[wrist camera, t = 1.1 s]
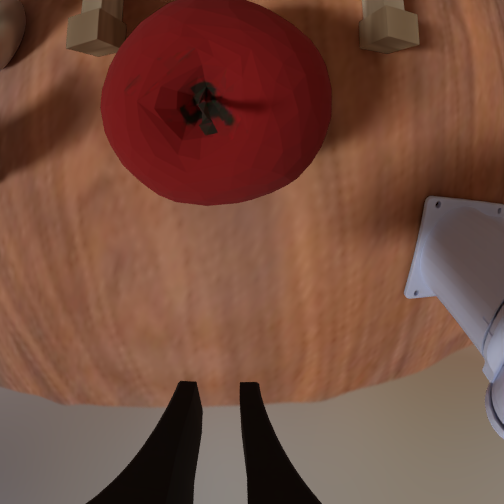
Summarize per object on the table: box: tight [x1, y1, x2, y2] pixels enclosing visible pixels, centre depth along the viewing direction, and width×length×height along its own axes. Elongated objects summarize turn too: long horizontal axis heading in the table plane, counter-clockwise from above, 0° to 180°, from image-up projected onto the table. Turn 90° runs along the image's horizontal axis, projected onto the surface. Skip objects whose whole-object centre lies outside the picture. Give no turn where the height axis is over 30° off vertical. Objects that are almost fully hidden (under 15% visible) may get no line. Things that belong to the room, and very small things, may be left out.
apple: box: [100, 0, 332, 206], centre depth 11 cm, size 9×9×10 cm
